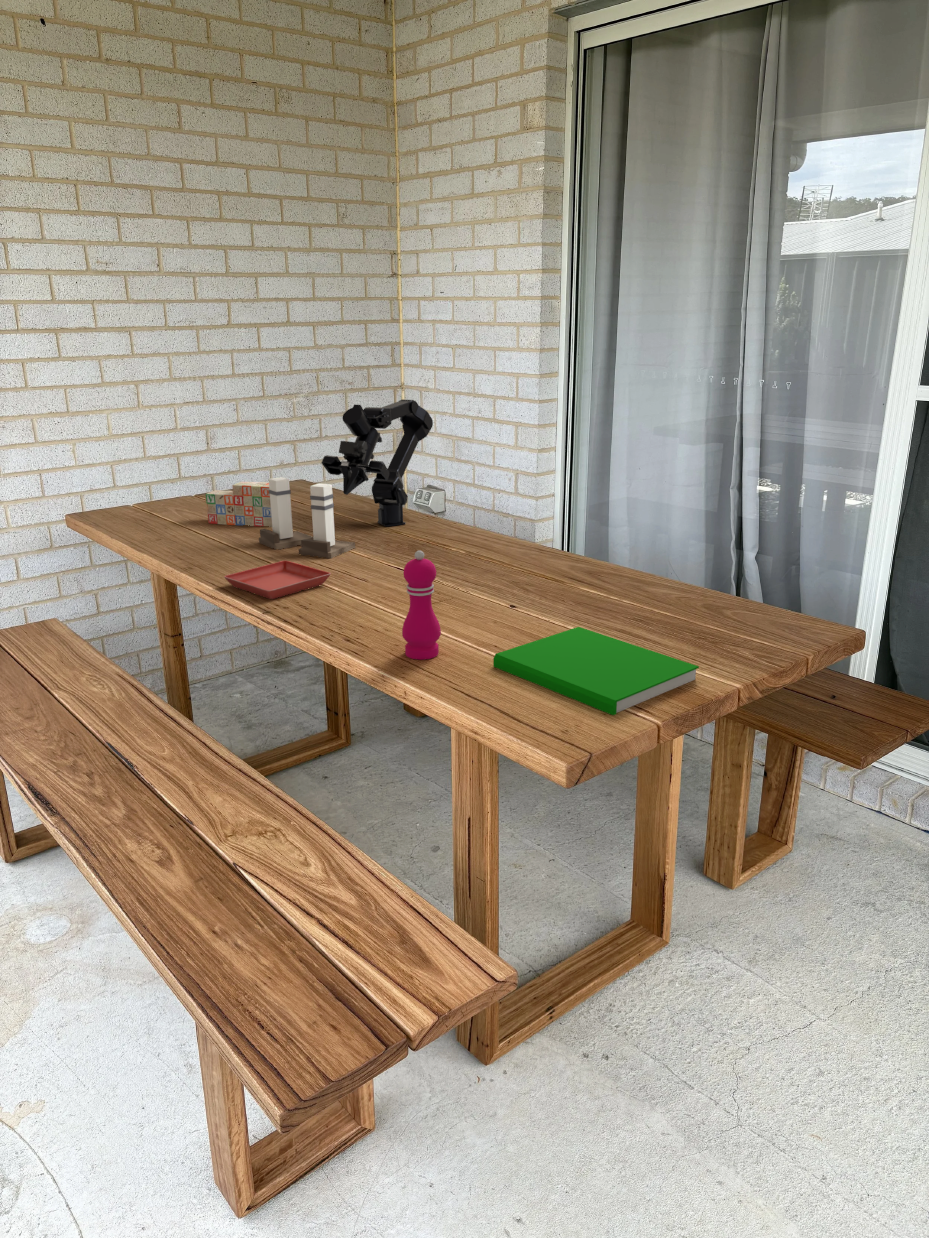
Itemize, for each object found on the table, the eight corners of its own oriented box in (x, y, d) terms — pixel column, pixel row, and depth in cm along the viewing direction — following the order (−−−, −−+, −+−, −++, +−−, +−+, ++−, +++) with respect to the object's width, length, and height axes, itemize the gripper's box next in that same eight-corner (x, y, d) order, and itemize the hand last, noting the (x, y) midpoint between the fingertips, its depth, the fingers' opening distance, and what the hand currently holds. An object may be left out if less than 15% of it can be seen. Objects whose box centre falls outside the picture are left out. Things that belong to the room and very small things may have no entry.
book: (578, 641, 183) (578, 626, 182) (697, 682, 163) (698, 666, 162) (493, 669, 169) (493, 654, 168) (612, 718, 149) (613, 701, 148)
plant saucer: (269, 604, 207) (268, 590, 206) (223, 589, 218) (222, 575, 217) (333, 586, 219) (332, 572, 218) (286, 572, 231) (285, 559, 230)
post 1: (286, 534, 259) (282, 476, 254) (293, 536, 256) (289, 478, 251) (272, 536, 257) (267, 478, 252) (279, 539, 254) (275, 480, 249)
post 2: (322, 542, 250) (318, 483, 245) (335, 544, 248) (332, 484, 243) (313, 546, 246) (309, 486, 241) (327, 547, 244) (323, 487, 239)
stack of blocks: (207, 524, 281) (203, 483, 277) (218, 519, 287) (214, 479, 283) (273, 527, 276) (270, 486, 272) (282, 522, 282) (279, 482, 278)
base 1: (297, 536, 265) (296, 522, 264) (315, 542, 258) (314, 528, 256) (259, 543, 258) (258, 528, 257) (276, 549, 251) (275, 535, 249)
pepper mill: (402, 648, 179) (398, 546, 172) (440, 646, 179) (438, 545, 173) (403, 661, 172) (399, 556, 165) (442, 660, 172) (440, 555, 166)
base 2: (323, 544, 256) (323, 530, 255) (355, 547, 252) (354, 533, 251) (298, 554, 246) (297, 539, 244) (331, 558, 242) (330, 543, 240)
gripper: (323, 426, 256) (303, 473, 250) (383, 431, 249) (364, 481, 243) (339, 449, 265) (320, 496, 260) (397, 456, 259) (379, 503, 253)
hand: (345, 493), depth 254 cm, fingers closed
